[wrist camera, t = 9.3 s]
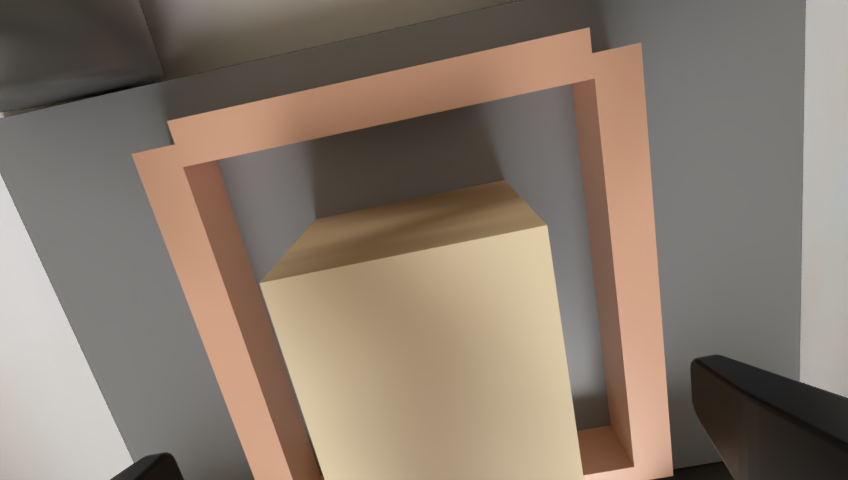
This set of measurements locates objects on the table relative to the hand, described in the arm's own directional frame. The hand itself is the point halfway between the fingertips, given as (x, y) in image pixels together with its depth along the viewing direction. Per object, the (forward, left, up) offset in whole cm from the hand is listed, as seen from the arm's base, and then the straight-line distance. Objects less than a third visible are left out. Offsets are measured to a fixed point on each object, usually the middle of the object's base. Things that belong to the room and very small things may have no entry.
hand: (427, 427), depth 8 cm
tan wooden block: (0, 0, -5) cm, 5 cm away
